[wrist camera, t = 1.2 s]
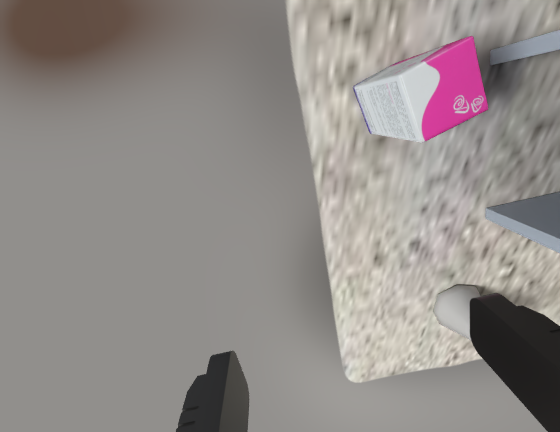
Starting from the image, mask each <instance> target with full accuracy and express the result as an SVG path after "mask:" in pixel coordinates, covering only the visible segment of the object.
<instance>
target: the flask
mask: <svg viewBox="0 0 560 432" xmlns="http://www.w3.org/2000/svg"><path fill="white" fill-rule="evenodd" d="M476 297H480V294H479V292H478V290H477V288H476V286H465V285H456V286H454V287H452V288H450V289H448V290H446V291H444V292H442V293H440V294H438V296H437V299H436V302H435V306H434V309H433V312H434V314H435V316H436V318H437V320H438V322H439V324H441V325H443V326H444V327H446V328H448V329H450V330H452V331H454V332H456V333H458V334H460V335H462V336H464V337H466V338H467V339H469V340H471V338H470V300H471V299H472V298H476Z"/></svg>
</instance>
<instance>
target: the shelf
mask: <svg viewBox="0 0 560 432" xmlns="http://www.w3.org/2000/svg"><path fill="white" fill-rule="evenodd" d="M559 49H560V30H557V31H554V32H551V33H547V34H544V35H540V36H537V37H534V38H530V39H527V40H524V41H520V42H517V43H514V44H510V45H507V46H503V47H500V48H497V49H493V50H491V55H490V65H494V64H499V63H503V62H507V61H512V60H516V59H520V58H525V57H529V56H533V55H538V54H542V53H546V52H551V51H555V50H559ZM486 219H487V220H490V221H492V222H494V223H496V224H498V225H500V226H502V227H505V228H507V229H509V230H511V231H513V232H515V233H517V234H520V235H522V236H524V237H526V238H528V239H530V240H533V241H535V242H537V243H539V244H541V245H543V246H545V247H548V248H550V249H552V250H554V251H556V252H558V253H560V192H557V193H552V194H548V195H543V196H539V197H534V198H530V199H525V200H520V201H516V202H511V203H507V204H502V205H498V206H493V207H489V208H486Z"/></svg>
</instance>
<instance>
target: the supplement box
mask: <svg viewBox="0 0 560 432" xmlns="http://www.w3.org/2000/svg"><path fill="white" fill-rule="evenodd" d="M353 89H354V92H355V95H356V98H357V100H358V103H359V105H360V108H361V110H362V113H363V116H364V119H365V122H366V124H367V127H368V130H369V132H370V133H371V134H377V135H382V136H388V137H393V138H399V139H404V140H410V141H415V142H421V143H423V142H425V141H427V140H429V139H431V138H433V137H435V136H437V135H439V134H441V133H443V132H445V131H447V130H449V129H451V128H453V127H455V126H457V125H459V124H460V123H463V122H465V121H467V120H468V119H470V118H472V117H474V116H476V115H478V114H480V113H482V112H484V111H486V110H488V104H487V99H486V95H485V91H484V87H483V83H482V78H481V74H480V68H479V63H478V58H477V53H476V48H475V43H474V38H473V36H470V37H467V38H464V39H461V40H458V41H455V42H453V43H450V44H447V45H445V46H442V47H439V48H436V49H434V50H431V51H428V52H426V53H423V54H420V55H417V56H414V57H411V58H409V59H406V60H404V61H400V62H398V63H395V64H393V65H391V66H389V67H387V68H385V69H384V70H382V71H380V72H378V73H376V74H374V75H373V76H371V77H369V78H367V79H365V80H363V81H362V82H360V83H358V84H357V85H355V86H353Z"/></svg>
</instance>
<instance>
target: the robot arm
mask: <svg viewBox="0 0 560 432" xmlns="http://www.w3.org/2000/svg"><path fill="white" fill-rule="evenodd" d="M470 338H471V341H472V343H473V346H474V347H475V349H476V351H477V352H478V354H479V355H480V356H481V357H482V358H483V359H484V360H485V362H487V364H488V365H489V366H490V367H491V368H492V369H493V371H494V372H495V373H496V374H497V375H498V376H499V377H500V378H501V379H502V381H503V382H504V383H505V384H506V385H507V386H508V387H509V389H510V390H511V391H512V392H513V393H514V394H515V395H516V396H517V398H519V400H520V401H521V402H522V403H523V404H524V405H525V407H526V408H527V409H528V410H529V411H530V412H531V413H532V414H533V416H534V417H535V418H536V419H537V420H538V421H539V422H540V423H541V424H542V426H543V427H544V428H545V429H546V430H547V431H548V432H560V326H559V325H557V324H556V323H554V322H553V321H552V320H550V319H549V318H548V317H546V316H545V315H543V314H540V313H538V312H536V311H534V310H531V309H529V308H527V307H524V306H515V305H514V304H513V303H511V302H510V301H509V300H507V299H506V298H505V297H504V296H502V295H500V294H498V293H494V294H489V295H485V296H480V297H476V298H472V299H471V300H470ZM182 410H183V412H182V413H181V416H180V419H179V423H178V428H177V429H176V432H247V430H248V414H249V413H248V412H249V391H248V385H247V382H246V379H245V376H244V374H243V371H242V369H241V366H240V363H239V361H238V358H237V356H236V353H235V352H234V351H229V352H225V353H220V354H216V355H212V356H211V357H210V361H209V364H208V369H207V373H206V374H204V375H200V376H197V378H196V379H195V381H194V382H193V384H192V386H191V387H190V389H189V390H188V392H187V395H186V398H185V402H184V405H183V409H182Z"/></svg>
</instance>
